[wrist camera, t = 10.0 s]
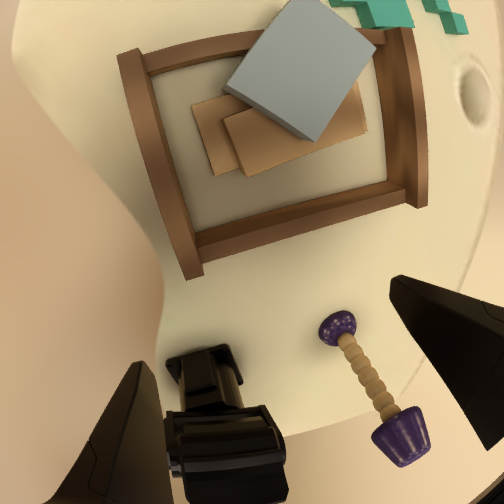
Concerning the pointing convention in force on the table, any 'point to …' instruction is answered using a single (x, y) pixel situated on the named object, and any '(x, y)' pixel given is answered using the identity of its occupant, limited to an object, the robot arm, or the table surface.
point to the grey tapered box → (301, 67)
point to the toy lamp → (379, 397)
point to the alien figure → (401, 14)
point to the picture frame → (302, 214)
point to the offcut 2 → (284, 136)
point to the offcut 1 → (215, 133)
